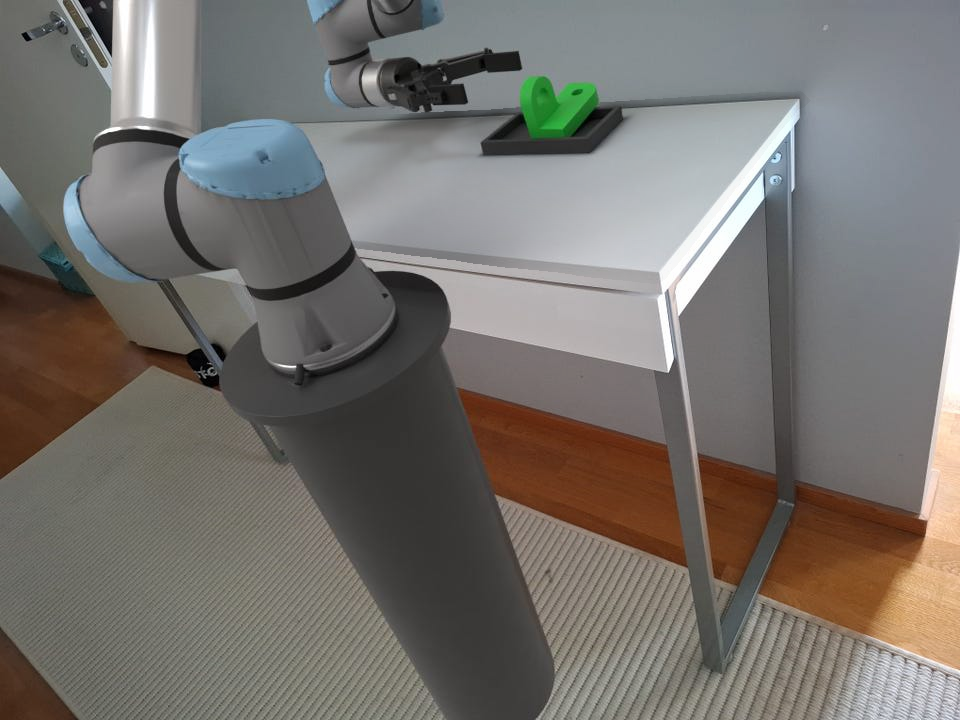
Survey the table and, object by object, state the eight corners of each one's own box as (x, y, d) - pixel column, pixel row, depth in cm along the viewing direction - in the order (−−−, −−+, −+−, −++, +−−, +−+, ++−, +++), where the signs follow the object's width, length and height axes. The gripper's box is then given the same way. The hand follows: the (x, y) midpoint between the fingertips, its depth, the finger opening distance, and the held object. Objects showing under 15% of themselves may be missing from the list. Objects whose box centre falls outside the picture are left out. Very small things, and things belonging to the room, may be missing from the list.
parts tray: (589, 152, 90) (587, 138, 89) (483, 155, 100) (480, 142, 99) (623, 119, 97) (621, 105, 96) (520, 124, 107) (518, 112, 106)
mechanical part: (566, 141, 94) (551, 89, 89) (532, 140, 98) (515, 90, 92) (606, 94, 99) (594, 42, 94) (572, 95, 103) (558, 44, 97)
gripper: (448, 78, 120) (544, 72, 107) (351, 134, 107) (446, 135, 94) (436, 34, 116) (535, 22, 103) (333, 87, 103) (431, 81, 89)
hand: (493, 76), depth 98 cm, fingers open, 13 cm apart
